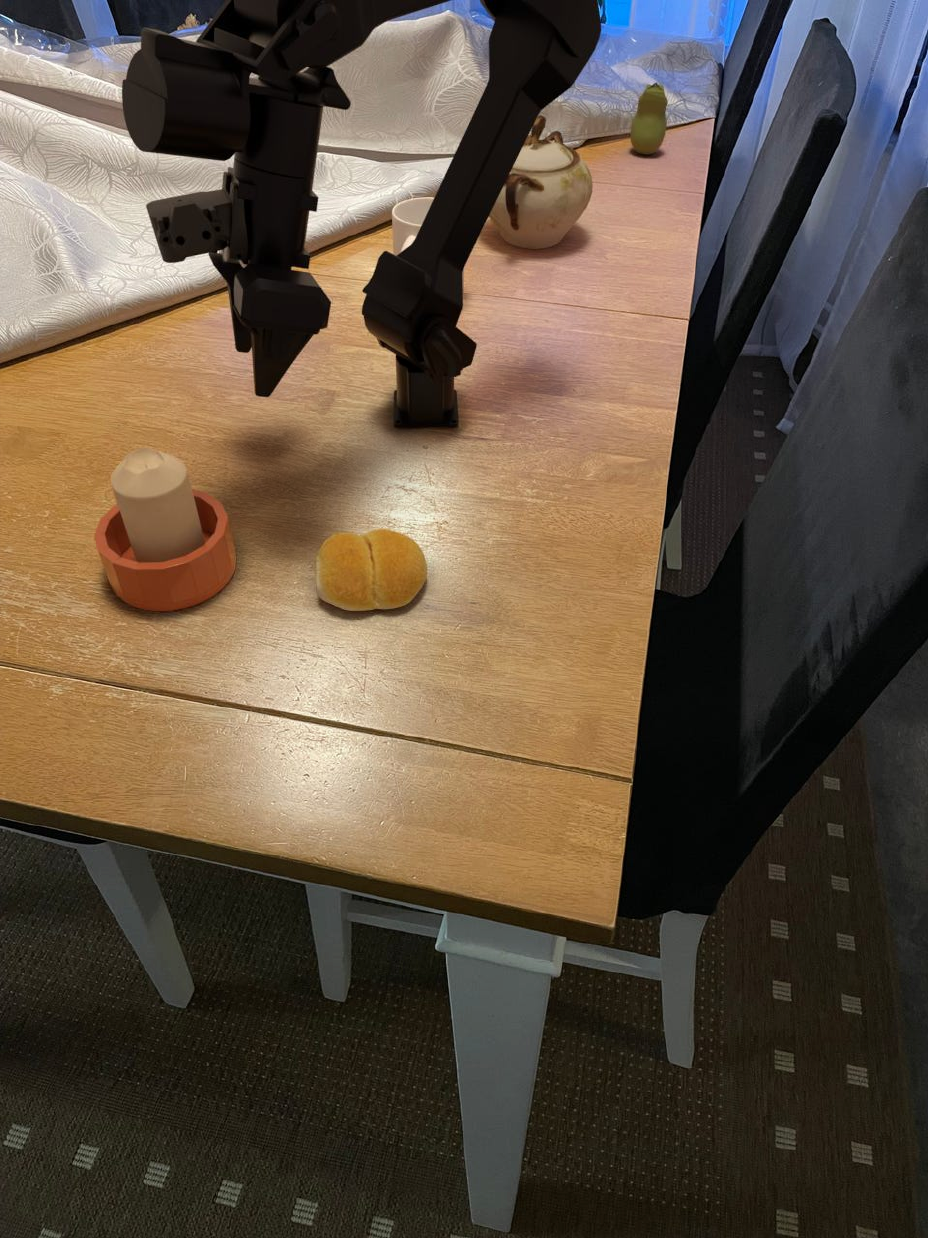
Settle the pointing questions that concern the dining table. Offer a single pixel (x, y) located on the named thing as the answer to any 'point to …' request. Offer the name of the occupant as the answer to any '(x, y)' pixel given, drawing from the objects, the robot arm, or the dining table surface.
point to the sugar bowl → (542, 192)
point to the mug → (409, 222)
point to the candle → (157, 505)
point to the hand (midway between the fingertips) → (251, 372)
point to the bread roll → (370, 570)
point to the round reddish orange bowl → (169, 562)
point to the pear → (649, 120)
